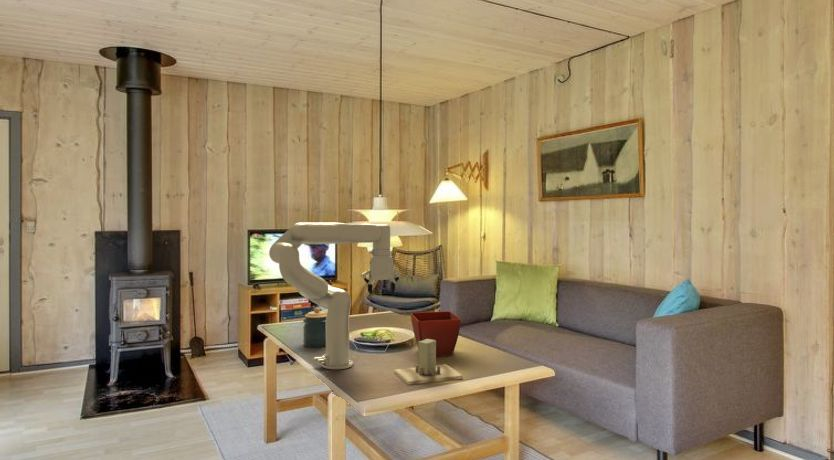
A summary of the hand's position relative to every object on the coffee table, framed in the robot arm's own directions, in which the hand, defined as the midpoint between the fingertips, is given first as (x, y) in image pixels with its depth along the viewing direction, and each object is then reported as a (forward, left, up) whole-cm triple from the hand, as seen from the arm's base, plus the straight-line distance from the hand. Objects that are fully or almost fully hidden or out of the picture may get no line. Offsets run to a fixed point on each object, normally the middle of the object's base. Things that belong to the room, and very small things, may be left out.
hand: (381, 292), depth 229 cm
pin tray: (+10, -30, -28) cm, 42 cm away
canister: (-22, +33, -28) cm, 49 cm away
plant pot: (+25, 0, -28) cm, 38 cm away
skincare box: (+10, -30, -27) cm, 41 cm away
